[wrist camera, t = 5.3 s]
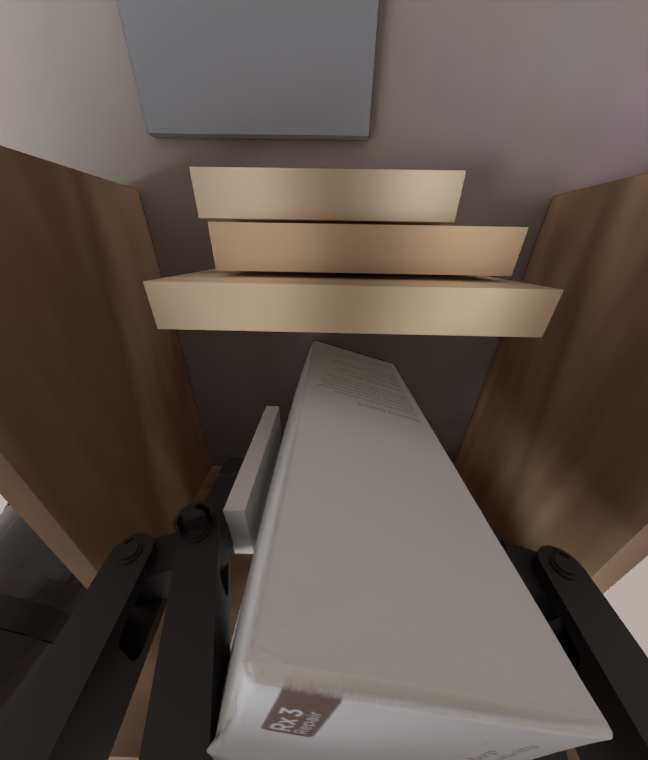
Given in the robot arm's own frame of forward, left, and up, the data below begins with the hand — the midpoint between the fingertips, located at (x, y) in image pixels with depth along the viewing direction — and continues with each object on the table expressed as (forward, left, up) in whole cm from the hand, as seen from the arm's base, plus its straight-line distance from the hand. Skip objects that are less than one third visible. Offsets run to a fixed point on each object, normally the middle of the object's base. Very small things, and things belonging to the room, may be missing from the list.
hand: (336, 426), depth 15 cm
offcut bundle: (0, +10, -4) cm, 10 cm away
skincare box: (0, 0, -4) cm, 4 cm away
